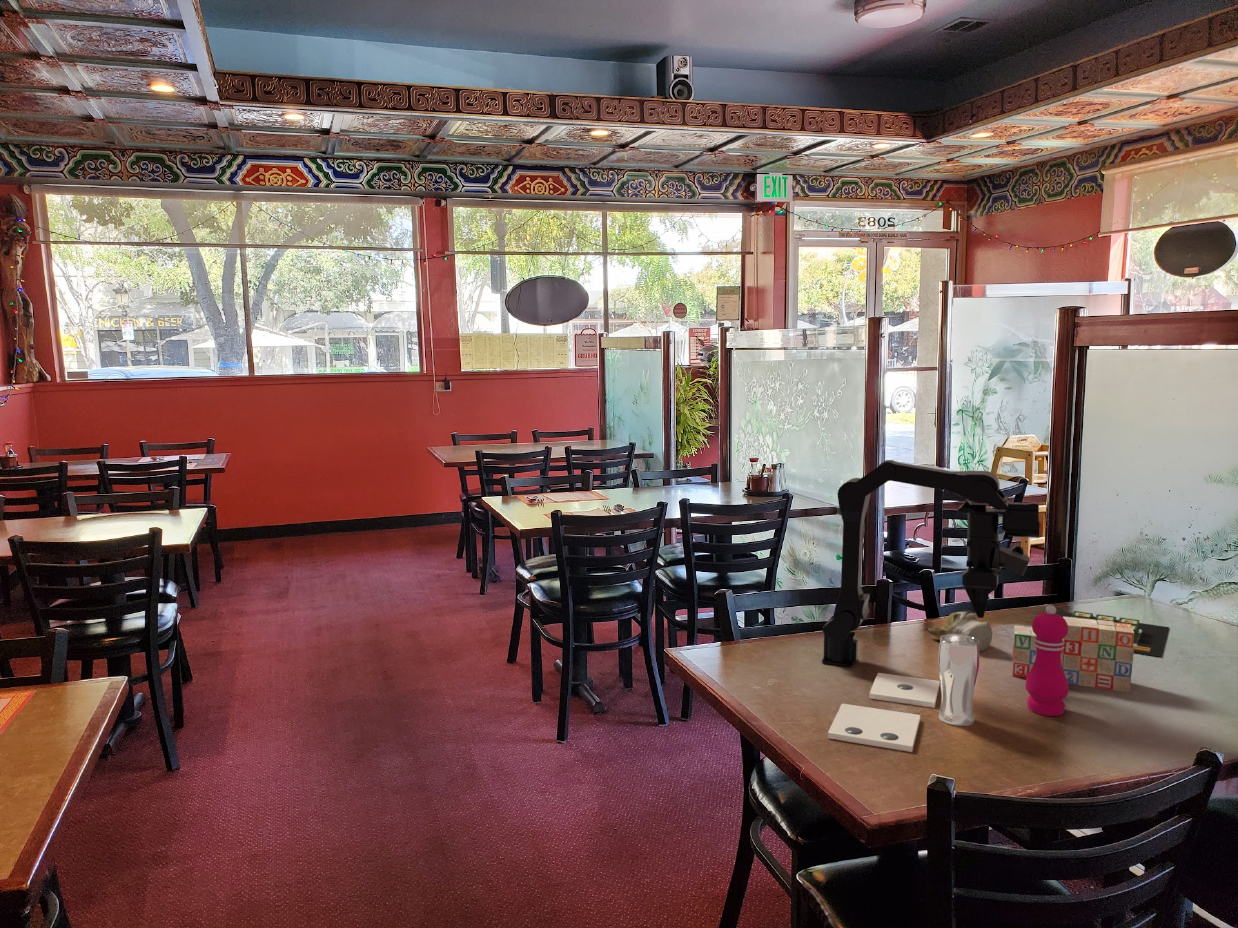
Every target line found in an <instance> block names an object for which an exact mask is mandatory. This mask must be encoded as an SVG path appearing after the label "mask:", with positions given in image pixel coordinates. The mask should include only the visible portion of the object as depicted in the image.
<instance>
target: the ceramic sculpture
mask: <svg viewBox="0 0 1238 928" xmlns="http://www.w3.org/2000/svg"><path fill="white" fill-rule="evenodd" d="M944 623H945V624H944V625H943V626H935V627H932V628H931V627H924V629H925V631H927V632H928V633H929V634H930V635H931V636H933V637H935V638H937V639H939V640H940V637H941V636H943V635H947V634H961V635H967V636H971V637H974V638H976V639H977V640H978V641H979V652H982V651H984V650H985V649H987V648H988V647H989V646H990V645H991V643H992V640H993V629H992V625H991V623H990V622H989V621H983V622H981V621H979V620H978V617H977V615H976V613H974V612H973V611H971V610H970V609H969V608H963V609H962V611H957V612H952V613H950V614H948V616H947V617H946V619H945V622H944Z"/></svg>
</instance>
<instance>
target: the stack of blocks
mask: <svg viewBox="0 0 1238 928" xmlns="http://www.w3.org/2000/svg"><path fill="white" fill-rule="evenodd" d="M1063 618H1064V619H1065V620H1066V622H1067V624H1068V634H1067V635H1066V637H1064V638H1063V641H1064V649H1063V650H1061V665H1062V669H1063V672H1064V674H1065V676H1066V679H1067V682H1068V685H1075V686H1081V687H1082V686H1083V687H1089V688H1090V687H1091V688H1095V689H1096V688H1097V689H1104V690H1110V691H1111V690H1112V691H1118V692H1120V691H1121V692H1125V693H1130V692H1131V685H1132V672H1133V671H1132V670H1133V663H1134V654H1133V653H1134V647H1133V646H1134V644H1135V643H1134V631H1133V628H1132V625H1131V624H1124V623H1115V622H1113V621H1105V620H1092V619H1082V618H1080V619H1079V618H1072V617H1063ZM1035 637H1037V636H1036V635H1035V633H1034V632H1033V629H1032V626H1023V625H1014V631H1013V643H1012V644H1013V645H1012V669H1011V671H1012V672H1011V676H1013V677H1018V678H1024V679H1027V676H1028V674H1029V672H1030V670H1031V668H1032V666H1033V664H1034V662H1035V659H1036V653H1037V650H1036V646H1035V645H1034V643H1035V640H1034V638H1035Z"/></svg>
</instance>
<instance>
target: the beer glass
mask: <svg viewBox="0 0 1238 928" xmlns="http://www.w3.org/2000/svg"><path fill="white" fill-rule="evenodd" d="M939 640H940V641H939V647H938V656H937V657H938V659H937V665H938V666H937V669H938V679H939V681H940V686H939V687H940V692H941V703H940V708H939V712H938V718H939V720H940V721H941V722H942V723H946V724H947V725H951V726H956V727H957V726H958V727H966V726H971V725H973V724H975V715H974V714H975V713H974V707H973V702H974V695H975V691H976V686H977V682H978V678H979V673H980V658H981V657H980V651H979V641H978V640H977V639H976V638H974V637H971V636H967V635H961V634H947V635H943V636H941V637H940V639H939Z"/></svg>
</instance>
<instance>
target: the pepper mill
mask: <svg viewBox="0 0 1238 928" xmlns="http://www.w3.org/2000/svg"><path fill="white" fill-rule="evenodd" d="M1056 611H1057V608H1056V606H1054V605H1053V604H1050V605H1047V606H1046V608H1045V612H1043V613H1040V614H1038V615H1036V616H1035V617H1034V618H1033V620H1032V623H1031V627H1032V629H1033V632H1034V633H1035V635H1036V636H1037V637H1035V638H1034V640H1035V643H1034V645H1035V646H1036V650H1037V653H1036V659H1035V662H1034V664H1033V666H1032V668H1031V670H1030V672H1029V674H1028V676H1027V678H1025V685H1024V686H1025V689H1026V691H1027V693H1028V694H1029V696H1028V698H1027V705H1026V706H1027V707H1026V708H1027V709H1028V710H1029V711H1031V712H1032V713H1035V714H1038V715H1040V716H1046V717H1058V716H1062V715H1064V713H1065V708H1066V707H1065V705H1066V704H1065V701H1063V700H1064V699H1065V698H1066V697H1067V696H1068V694H1069V692H1070V691H1069V684H1068V682H1067V679H1066V676H1065V674H1064V672H1063V669H1062V665H1061V650H1063V649H1064V641H1063V638H1064V637H1066V635H1067V634H1068V624H1067V622H1066V620H1065V619H1064V618H1063V617H1061V616H1060V615H1058V614H1055V613H1056Z"/></svg>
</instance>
